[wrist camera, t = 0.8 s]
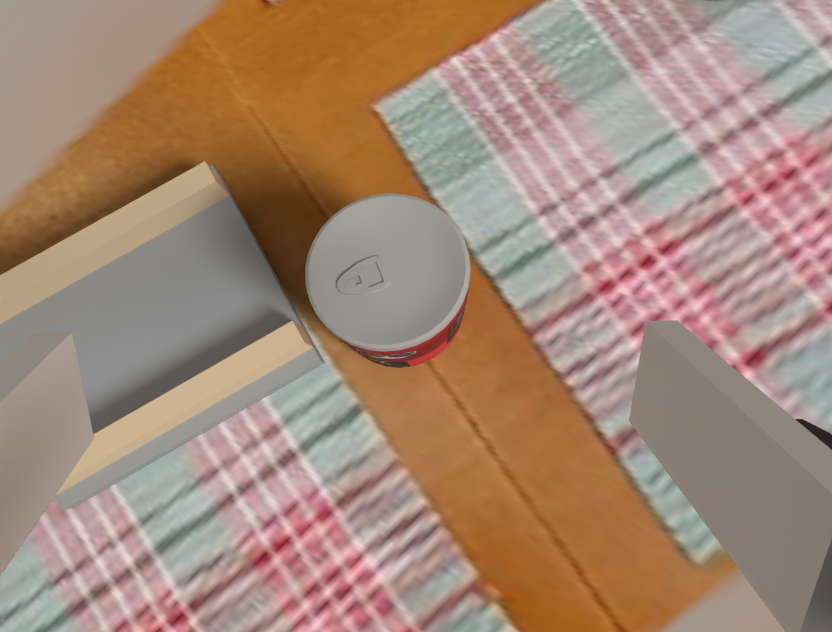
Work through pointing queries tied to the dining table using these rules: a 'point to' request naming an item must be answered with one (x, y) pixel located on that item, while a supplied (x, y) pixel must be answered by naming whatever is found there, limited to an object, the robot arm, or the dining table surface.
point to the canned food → (390, 278)
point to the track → (159, 323)
